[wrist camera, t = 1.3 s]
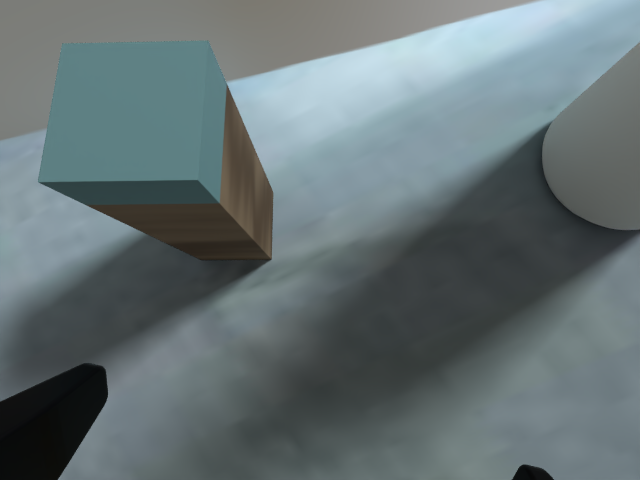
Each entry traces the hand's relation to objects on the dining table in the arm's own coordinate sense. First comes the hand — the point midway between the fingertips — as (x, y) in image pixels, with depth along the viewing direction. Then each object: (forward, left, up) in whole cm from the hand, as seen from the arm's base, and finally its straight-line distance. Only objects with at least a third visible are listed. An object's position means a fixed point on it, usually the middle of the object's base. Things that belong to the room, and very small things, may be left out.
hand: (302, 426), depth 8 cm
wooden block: (0, +10, -14) cm, 17 cm away
